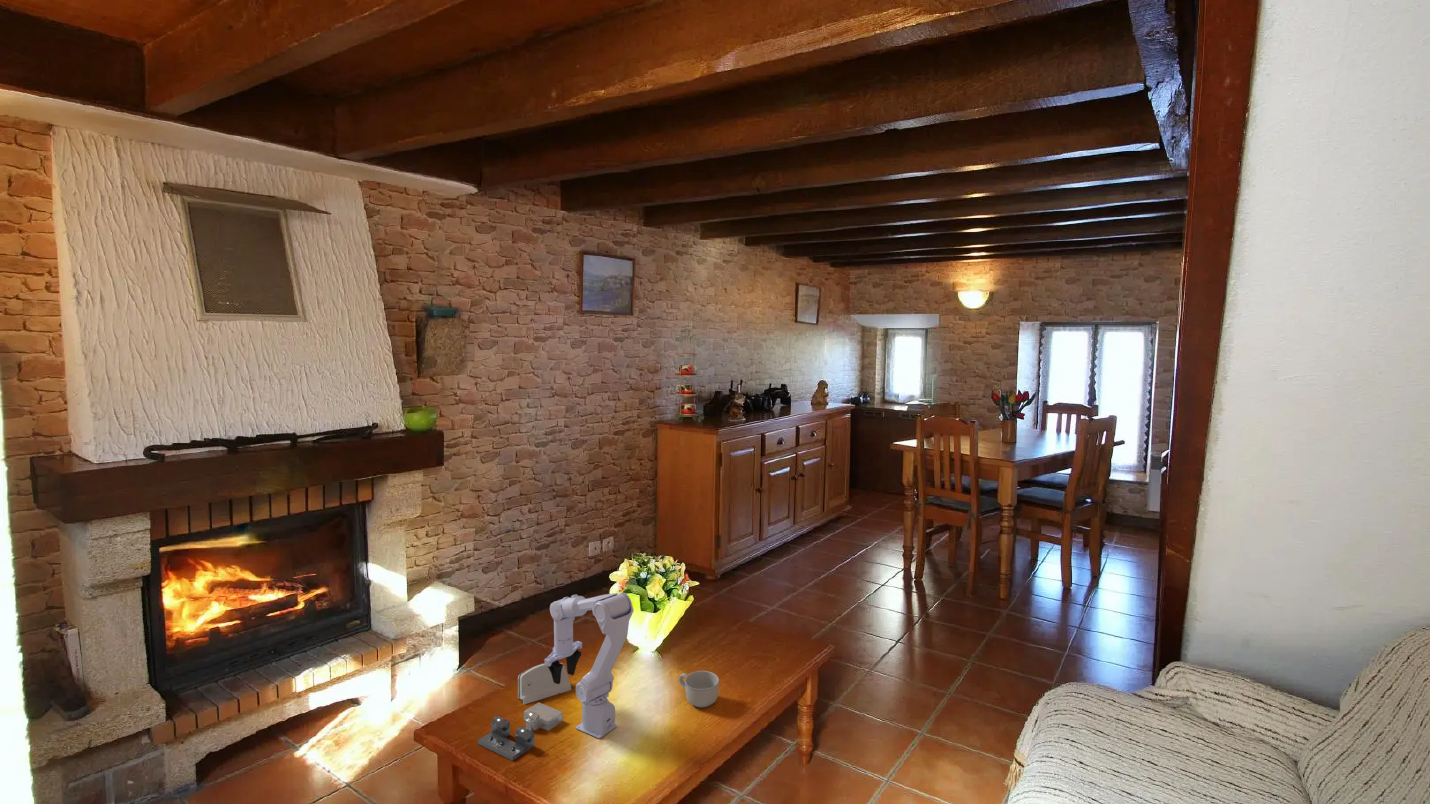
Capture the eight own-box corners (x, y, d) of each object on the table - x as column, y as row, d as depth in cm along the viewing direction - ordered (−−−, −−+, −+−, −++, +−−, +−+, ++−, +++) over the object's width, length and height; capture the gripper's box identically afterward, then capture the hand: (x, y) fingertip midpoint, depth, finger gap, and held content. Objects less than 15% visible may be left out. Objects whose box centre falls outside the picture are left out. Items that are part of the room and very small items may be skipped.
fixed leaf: (534, 746, 199) (534, 729, 199) (512, 760, 193) (512, 743, 192) (499, 730, 207) (499, 713, 206) (477, 743, 200) (477, 727, 199)
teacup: (725, 702, 224) (725, 678, 223) (701, 716, 216) (702, 691, 215) (694, 686, 233) (694, 663, 232) (670, 698, 225) (670, 675, 224)
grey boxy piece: (562, 721, 212) (562, 707, 211) (540, 735, 204) (540, 721, 204) (538, 711, 217) (538, 697, 217) (516, 725, 209) (516, 710, 209)
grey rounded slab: (522, 704, 220) (518, 671, 222) (517, 703, 224) (513, 670, 226) (572, 689, 230) (568, 658, 232) (567, 688, 234) (562, 657, 235)
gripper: (570, 625, 225) (570, 665, 227) (536, 642, 213) (537, 684, 214) (586, 630, 221) (587, 671, 223) (554, 648, 209) (554, 691, 211)
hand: (563, 678), depth 218 cm, fingers open, 6 cm apart
